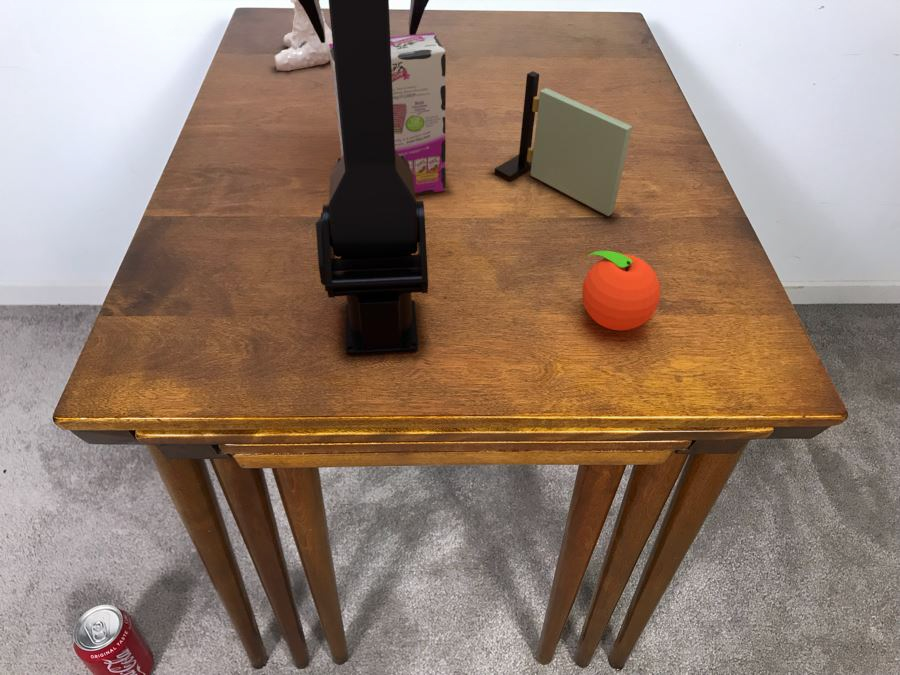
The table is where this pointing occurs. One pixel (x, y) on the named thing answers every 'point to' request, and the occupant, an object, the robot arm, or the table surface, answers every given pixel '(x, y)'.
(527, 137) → the hinge post
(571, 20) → the table surface
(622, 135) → the door
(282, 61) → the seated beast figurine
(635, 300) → the clementine
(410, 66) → the candy bar box
